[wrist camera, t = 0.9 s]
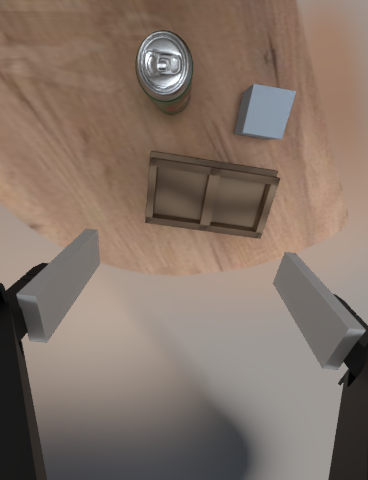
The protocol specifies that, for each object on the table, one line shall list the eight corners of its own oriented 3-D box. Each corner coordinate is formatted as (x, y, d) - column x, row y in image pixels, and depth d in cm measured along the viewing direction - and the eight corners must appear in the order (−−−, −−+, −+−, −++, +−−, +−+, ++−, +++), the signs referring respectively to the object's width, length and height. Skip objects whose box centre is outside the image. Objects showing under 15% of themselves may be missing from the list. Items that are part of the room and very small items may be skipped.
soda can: (151, 70, 28) (129, 23, 17) (190, 70, 28) (194, 23, 17) (153, 115, 30) (135, 99, 19) (189, 115, 30) (192, 100, 19)
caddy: (151, 151, 32) (148, 152, 29) (275, 170, 33) (283, 173, 30) (146, 220, 36) (143, 226, 33) (255, 235, 37) (260, 243, 35)
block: (242, 92, 29) (253, 83, 24) (278, 99, 29) (296, 91, 24) (233, 134, 31) (242, 132, 26) (267, 139, 31) (281, 139, 26)
